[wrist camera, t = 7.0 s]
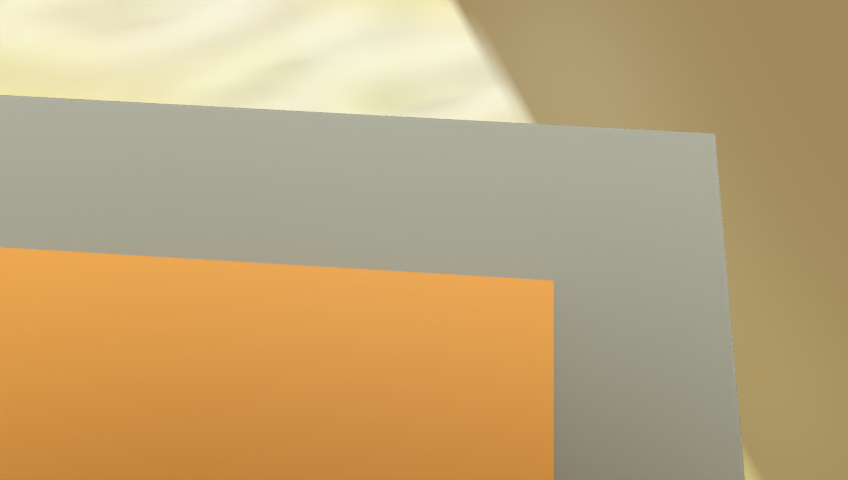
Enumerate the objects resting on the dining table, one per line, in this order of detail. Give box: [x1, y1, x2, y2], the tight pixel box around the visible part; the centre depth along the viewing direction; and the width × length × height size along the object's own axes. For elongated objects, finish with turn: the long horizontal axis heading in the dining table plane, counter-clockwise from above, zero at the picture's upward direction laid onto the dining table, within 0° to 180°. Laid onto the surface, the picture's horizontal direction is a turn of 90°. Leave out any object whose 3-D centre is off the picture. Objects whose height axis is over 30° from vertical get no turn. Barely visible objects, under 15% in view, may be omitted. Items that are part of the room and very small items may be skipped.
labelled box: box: [0, 95, 745, 480], centre depth 8 cm, size 4×5×12 cm
